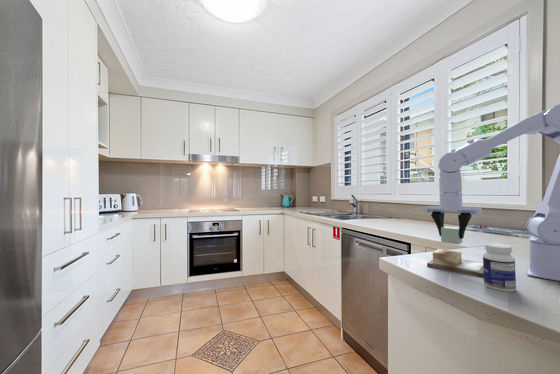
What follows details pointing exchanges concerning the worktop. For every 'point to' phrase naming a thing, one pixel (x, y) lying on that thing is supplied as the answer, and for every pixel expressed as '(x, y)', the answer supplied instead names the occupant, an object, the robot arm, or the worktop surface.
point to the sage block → (450, 235)
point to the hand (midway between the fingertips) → (451, 237)
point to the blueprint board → (455, 263)
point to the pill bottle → (499, 267)
